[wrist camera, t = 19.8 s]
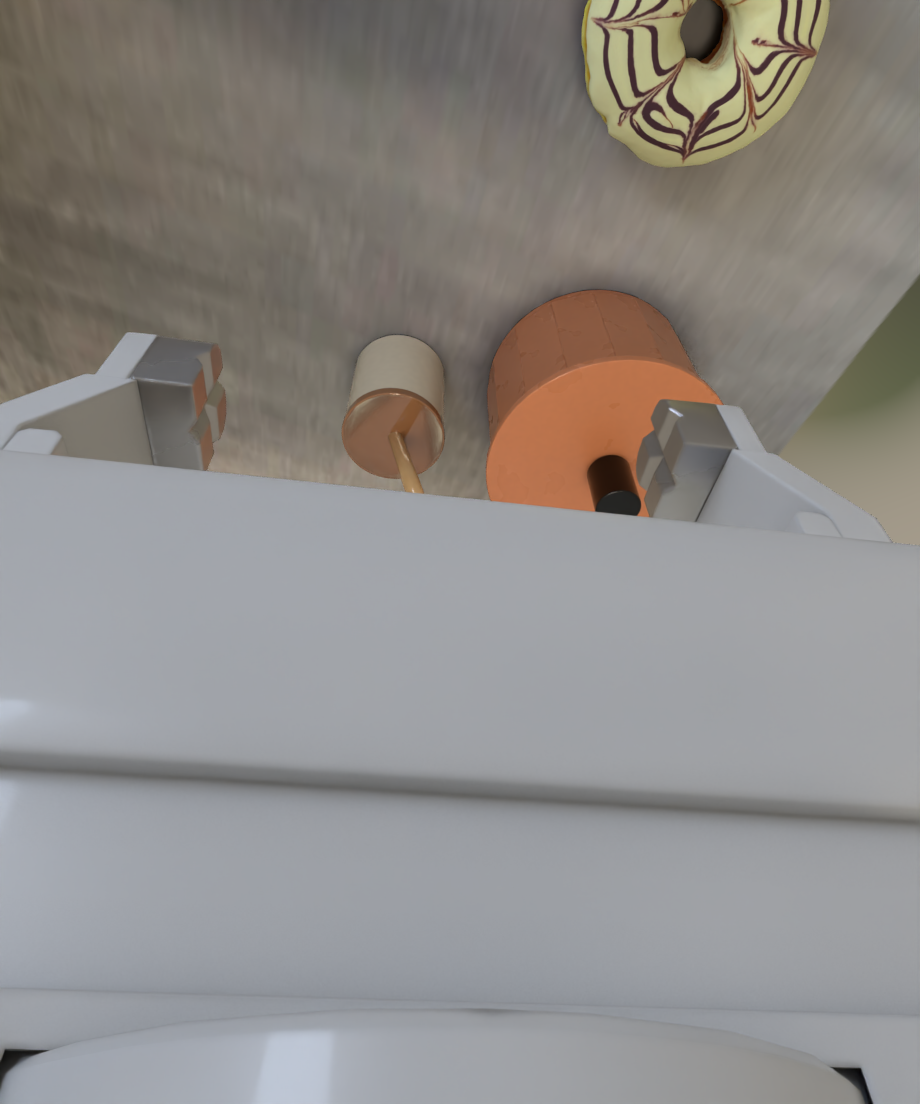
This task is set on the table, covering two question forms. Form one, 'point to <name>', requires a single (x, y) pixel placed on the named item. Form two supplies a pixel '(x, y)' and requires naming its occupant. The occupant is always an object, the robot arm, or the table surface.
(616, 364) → the pot lid
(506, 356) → the pot
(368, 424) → the crock
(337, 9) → the table surface
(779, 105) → the decorated donut
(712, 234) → the table surface
